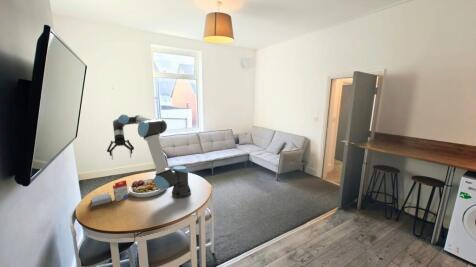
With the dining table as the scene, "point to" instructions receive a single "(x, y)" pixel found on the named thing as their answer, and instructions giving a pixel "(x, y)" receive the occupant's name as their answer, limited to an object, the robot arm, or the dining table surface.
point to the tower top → (100, 199)
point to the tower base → (101, 204)
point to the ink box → (120, 190)
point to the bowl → (144, 188)
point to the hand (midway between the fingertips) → (121, 158)
